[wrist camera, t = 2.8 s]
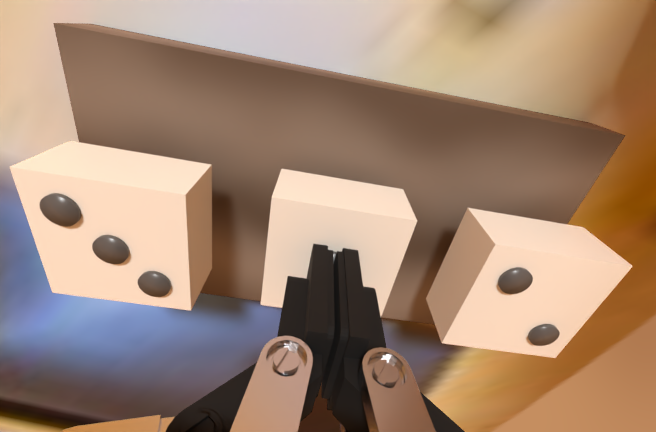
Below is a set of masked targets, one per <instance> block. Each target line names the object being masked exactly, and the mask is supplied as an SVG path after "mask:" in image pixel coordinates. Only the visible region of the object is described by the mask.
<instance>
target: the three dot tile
mask: <svg viewBox="0 0 656 432" xmlns="http://www.w3.org/2000/svg"><path fill="white" fill-rule="evenodd" d="M10 170H11V172H12V175H13V178H14V181H15V184H16V187H17V190H18V193H19V196H20V199H21V202H22V205H23V208H24V211H25V213H26V216H27V219H28V222H29V225H30V228H31V231H32V234H33V237H34V240H35V243H36V246H37V249H38V252H39V254H40V257H41V260H42V263H43V266H44V269H45V272H46V275H47V278H48V281H49V284H50V287H51V290H52V293H60V294H68V295H75V296H83V297H91V298H98V299H106V300H114V301H121V302H129V303H137V304H144V305H152V306H160V307H168V308H175V309H183V310H192V308H193V306H194V304H195V302H196V300H197V298H198V296H199V294H200V292H201V290H202V287H203V285H204V283H205V281H206V279H207V277H208V275H209V273H210V271H211V269H212V165H211V164H205V163H199V162H193V161H187V160H181V159H175V158H170V157H164V156H158V155H152V154H146V153H140V152H134V151H128V150H122V149H116V148H110V147H104V146H98V145H92V144H86V143H80V142H74V141H68V142H66V143H64V144H61V145H59V146H57V147H54V148H52V149H50V150H47V151H45V152H43V153H40V154H38V155H36V156H33V157H31V158H29V159H27V160H24V161H22V162H20V163H17V164H15V165H13V166H10Z"/></svg>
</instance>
